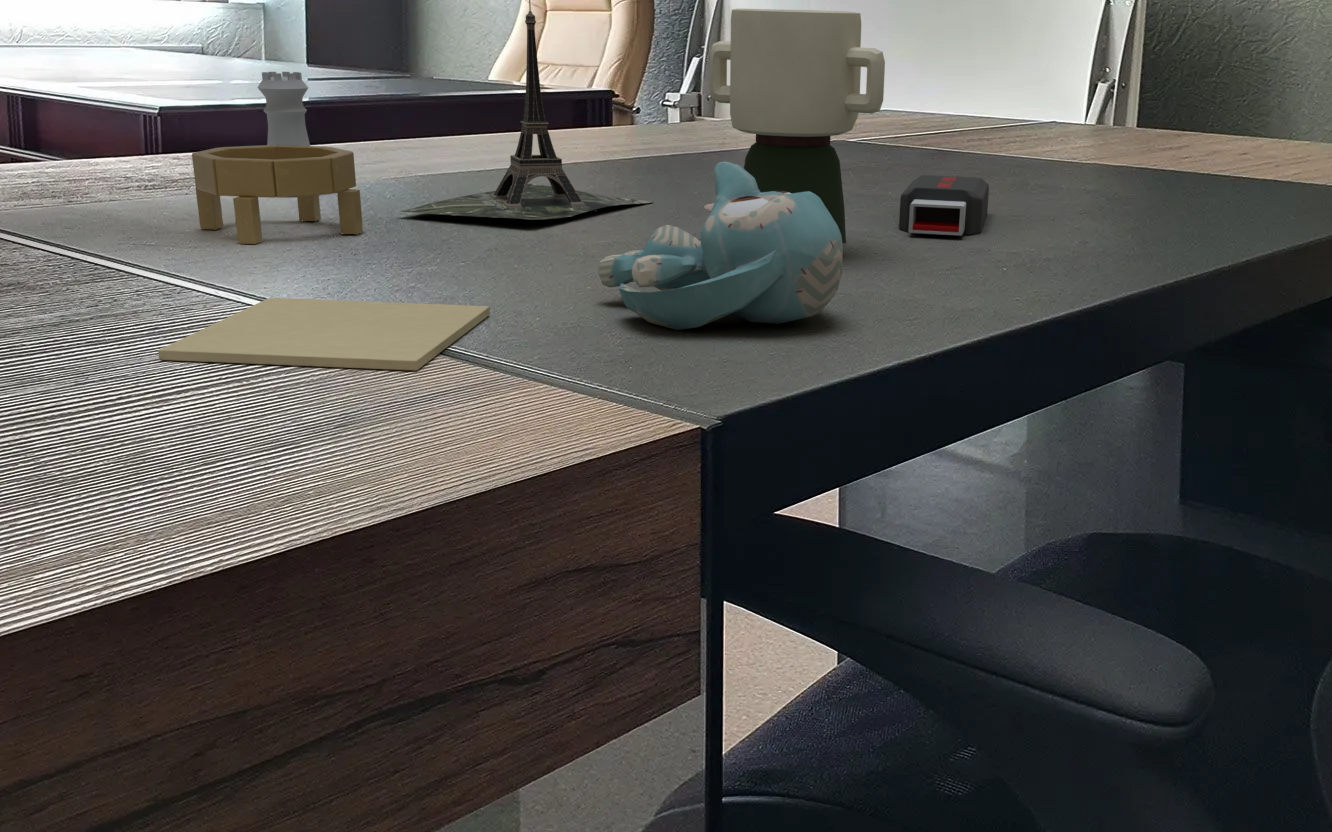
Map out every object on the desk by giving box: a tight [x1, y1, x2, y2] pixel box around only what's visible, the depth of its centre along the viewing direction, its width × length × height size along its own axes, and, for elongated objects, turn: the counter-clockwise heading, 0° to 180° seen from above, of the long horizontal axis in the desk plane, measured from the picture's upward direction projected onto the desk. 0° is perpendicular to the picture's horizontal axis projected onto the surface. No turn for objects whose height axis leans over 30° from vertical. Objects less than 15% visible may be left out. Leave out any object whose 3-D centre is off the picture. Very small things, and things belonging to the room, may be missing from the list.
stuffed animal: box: [598, 160, 844, 331], centre depth 62 cm, size 11×7×12 cm
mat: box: [157, 297, 491, 371], centre depth 57 cm, size 10×10×1 cm
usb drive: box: [898, 174, 990, 237], centre depth 90 cm, size 5×12×3 cm, turn 170°
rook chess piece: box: [257, 71, 311, 146], centre depth 95 cm, size 4×4×8 cm
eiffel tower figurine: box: [399, 0, 652, 221], centre depth 90 cm, size 15×10×13 cm
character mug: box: [709, 8, 886, 245], centre depth 77 cm, size 11×7×13 cm, turn 60°
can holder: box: [191, 144, 364, 245], centre depth 81 cm, size 9×9×4 cm
